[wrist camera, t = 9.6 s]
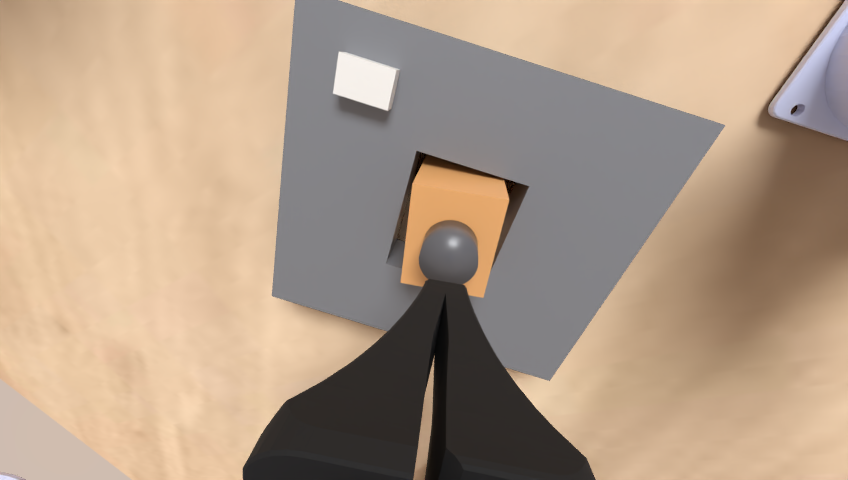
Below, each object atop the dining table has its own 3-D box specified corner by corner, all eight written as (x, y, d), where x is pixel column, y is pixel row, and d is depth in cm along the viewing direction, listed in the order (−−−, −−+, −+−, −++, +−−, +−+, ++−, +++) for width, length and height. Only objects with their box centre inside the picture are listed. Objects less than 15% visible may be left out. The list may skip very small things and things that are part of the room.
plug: (499, 164, 19) (512, 214, 13) (480, 243, 21) (484, 318, 15) (427, 152, 19) (405, 196, 13) (416, 232, 21) (394, 301, 15)
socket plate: (684, 115, 16) (739, 128, 13) (541, 345, 24) (552, 391, 21) (324, -1, 16) (286, -18, 13) (294, 269, 24) (264, 304, 20)
